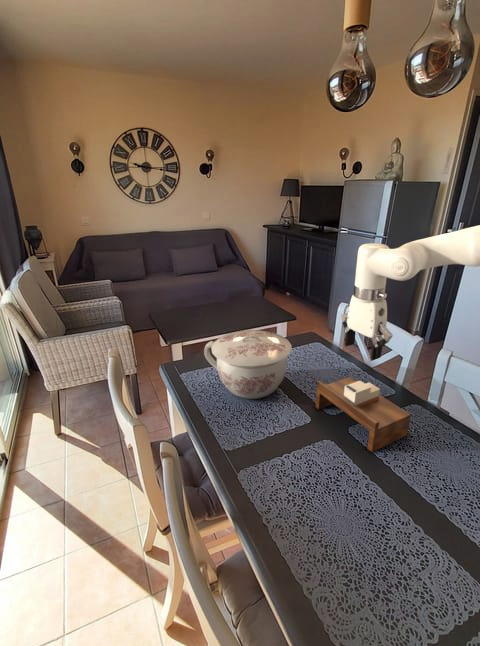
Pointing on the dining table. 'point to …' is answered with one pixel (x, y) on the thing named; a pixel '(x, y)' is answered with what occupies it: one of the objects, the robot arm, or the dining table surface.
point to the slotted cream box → (361, 393)
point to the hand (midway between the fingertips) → (361, 351)
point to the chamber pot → (250, 361)
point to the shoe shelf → (367, 413)
